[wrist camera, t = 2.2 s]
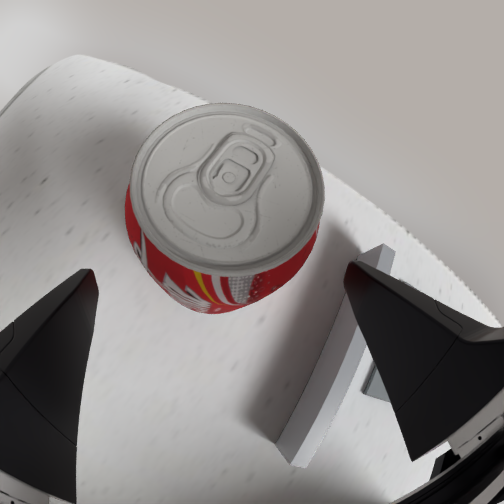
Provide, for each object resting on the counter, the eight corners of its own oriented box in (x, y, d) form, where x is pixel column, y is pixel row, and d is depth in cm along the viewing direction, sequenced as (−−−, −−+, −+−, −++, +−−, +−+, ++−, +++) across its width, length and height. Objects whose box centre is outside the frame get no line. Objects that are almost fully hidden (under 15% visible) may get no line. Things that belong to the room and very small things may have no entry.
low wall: (289, 448, 16) (305, 468, 13) (275, 444, 16) (289, 464, 13) (369, 262, 21) (395, 251, 18) (358, 255, 21) (383, 243, 18)
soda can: (140, 280, 18) (61, 213, 6) (195, 198, 20) (199, 66, 9) (230, 334, 18) (282, 353, 7) (278, 247, 20) (369, 157, 9)
